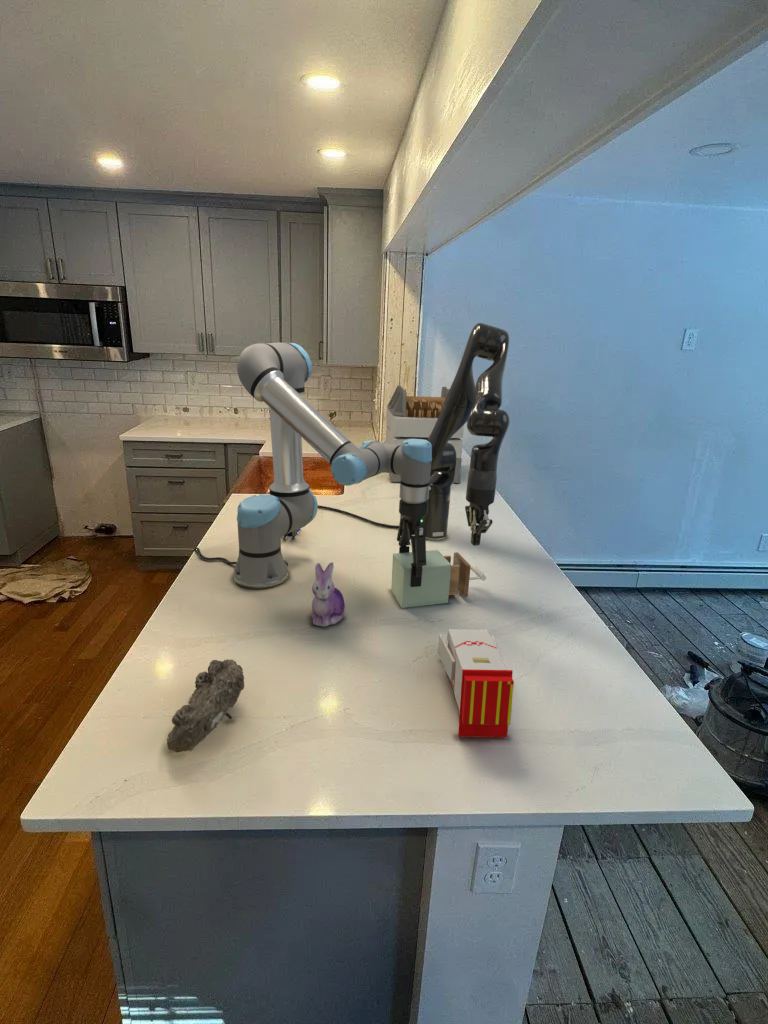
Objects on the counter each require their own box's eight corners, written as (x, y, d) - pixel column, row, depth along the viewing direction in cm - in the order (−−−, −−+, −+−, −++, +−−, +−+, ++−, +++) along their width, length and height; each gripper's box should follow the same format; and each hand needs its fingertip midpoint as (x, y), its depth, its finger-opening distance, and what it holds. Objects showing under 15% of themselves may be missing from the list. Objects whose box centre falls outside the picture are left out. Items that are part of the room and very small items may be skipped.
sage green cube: (435, 586, 163) (437, 549, 159) (448, 602, 154) (451, 564, 150) (391, 590, 160) (392, 553, 156) (401, 608, 151) (403, 569, 147)
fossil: (192, 660, 117) (244, 628, 112) (224, 691, 120) (276, 661, 115) (142, 746, 98) (202, 712, 93) (182, 779, 101) (242, 748, 96)
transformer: (382, 463, 289) (386, 382, 275) (445, 464, 293) (451, 384, 279) (390, 482, 257) (394, 392, 243) (460, 483, 261) (468, 394, 247)
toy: (488, 613, 130) (523, 677, 101) (484, 667, 133) (517, 744, 104) (435, 612, 130) (455, 676, 101) (432, 666, 133) (451, 743, 103)
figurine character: (298, 546, 189) (303, 525, 202) (297, 526, 185) (302, 506, 199) (277, 546, 188) (284, 525, 202) (276, 525, 185) (283, 505, 198)
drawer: (472, 580, 165) (475, 550, 162) (485, 594, 157) (489, 563, 154) (416, 585, 161) (418, 555, 157) (427, 600, 153) (429, 569, 149)
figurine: (317, 631, 137) (317, 576, 132) (303, 612, 146) (302, 559, 141) (353, 623, 142) (354, 569, 137) (337, 605, 150) (337, 553, 145)
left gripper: (443, 513, 137) (437, 595, 145) (413, 485, 157) (409, 558, 165) (414, 515, 135) (409, 598, 143) (387, 487, 155) (384, 560, 163)
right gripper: (505, 491, 145) (498, 553, 151) (483, 476, 157) (477, 534, 163) (479, 492, 143) (472, 555, 149) (458, 477, 155) (453, 536, 161)
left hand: (409, 577), depth 154 cm, fingers closed on sage green cube, 10 cm apart
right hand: (475, 544), depth 156 cm, fingers closed
